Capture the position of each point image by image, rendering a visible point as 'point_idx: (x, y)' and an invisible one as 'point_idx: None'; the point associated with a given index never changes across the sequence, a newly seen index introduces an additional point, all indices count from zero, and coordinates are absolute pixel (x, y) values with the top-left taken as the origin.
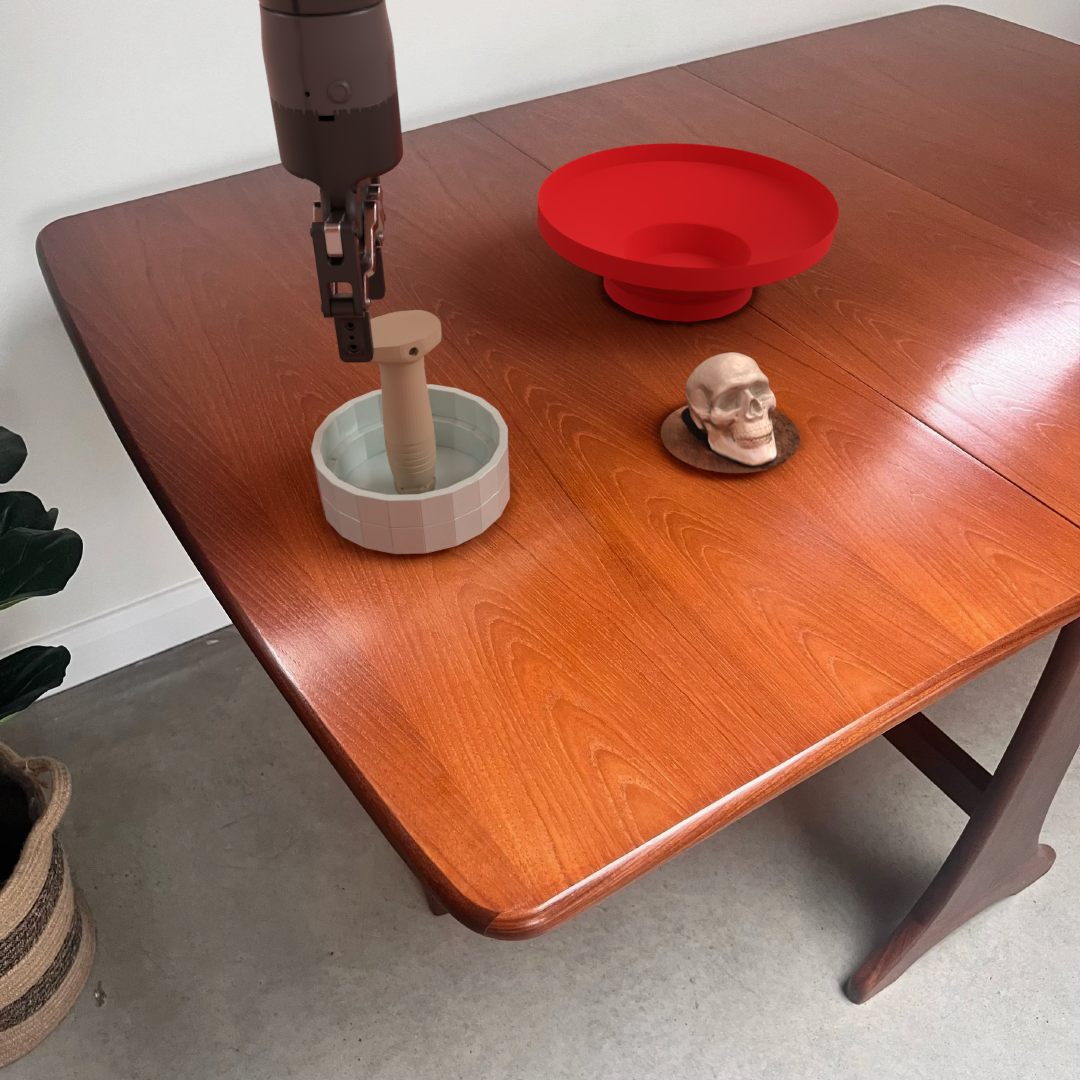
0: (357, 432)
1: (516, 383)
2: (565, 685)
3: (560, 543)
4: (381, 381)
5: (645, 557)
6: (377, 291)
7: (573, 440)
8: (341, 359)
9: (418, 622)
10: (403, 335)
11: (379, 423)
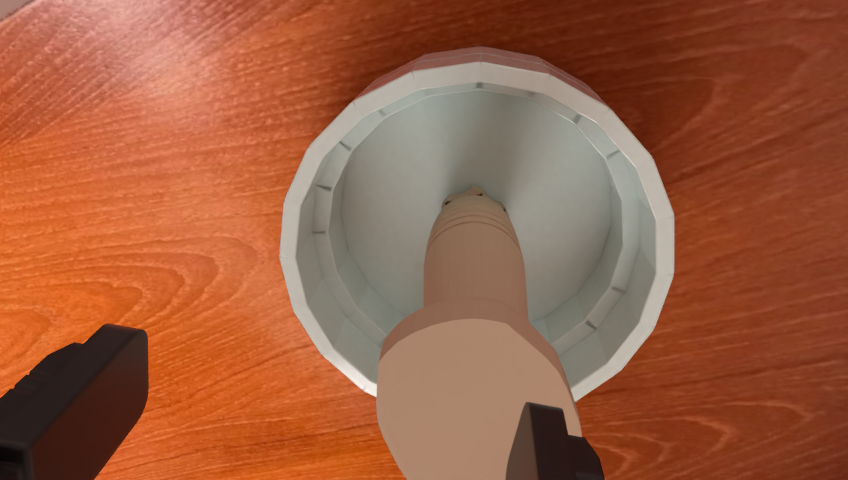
0: (612, 147)
1: (752, 414)
2: (71, 332)
3: (324, 384)
4: (464, 294)
5: (282, 466)
6: (511, 477)
7: None
8: (107, 324)
9: (183, 177)
10: (433, 437)
11: (630, 193)
